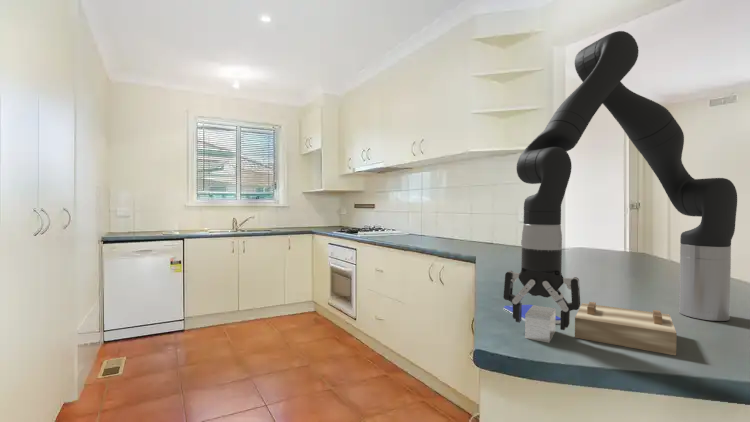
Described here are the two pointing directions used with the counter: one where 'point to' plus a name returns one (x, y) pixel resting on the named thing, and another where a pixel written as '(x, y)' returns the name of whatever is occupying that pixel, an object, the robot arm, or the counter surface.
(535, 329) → the panel
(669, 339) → the drive stand
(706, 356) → the counter surface
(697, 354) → the counter surface
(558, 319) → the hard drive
